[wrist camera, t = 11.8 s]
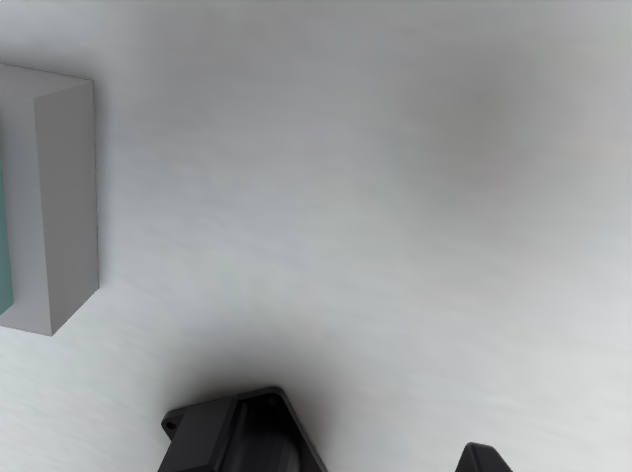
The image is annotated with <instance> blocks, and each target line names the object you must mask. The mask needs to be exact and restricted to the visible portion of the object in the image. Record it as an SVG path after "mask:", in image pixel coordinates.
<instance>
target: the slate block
mask: <svg viewBox="0 0 632 472" xmlns="http://www.w3.org/2000/svg"><path fill="white" fill-rule="evenodd" d="M0 156H1V167H2V178H3V189H4V200H5V211H6V223H7V234H8V245H9V256H10V267H11V279H12V290H13V301H14V304H13V305H12V306H11V307H10V308H8V309H7V310H6V311H5V312H4V313H3V314H1V315H0V326H4V327H8V328H13V329H18V330H23V331H28V332H33V333H37V334H42V335H47V336H53V335H54V334H55V333H56V331H57V330H58V329H59V328H60V327H61V326H62V325H63V324H64V323H65V322H66V321H67V320H68V319H69V318H70V317H71V316H72V315H73V314H74V313H75V312H76V311H77V310H78V309H79V308H80V307H81V306H82V305H83V304H84V303H85V302H86V300H87V299H88V298H89V297H90V296H91V295H92V294H93V293H94V292H95V291H96V290H97V289H98V288H99V272H98V234H97V197H96V160H95V122H94V85H93V81H92V80H86V79H81V78H76V77H71V76H65V75H60V74H55V73H50V72H44V71H39V70H34V69H29V68H23V67H18V66H13V65H8V64H2V63H0Z"/></svg>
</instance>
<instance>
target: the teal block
mask: <svg viewBox="0 0 632 472" xmlns="http://www.w3.org/2000/svg"><path fill="white" fill-rule="evenodd" d="M13 304H14V301H13V290H12V279H11V267H10V256H9V245H8V234H7V223H6V211H5V200H4V189H3V178H2V167H1V156H0V315H1V314H3V313H4V312H5V311H6V310H7V309H8V308H10V307H11V306H12V305H13Z"/></svg>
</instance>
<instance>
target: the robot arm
mask: <svg viewBox="0 0 632 472" xmlns="http://www.w3.org/2000/svg"><path fill="white" fill-rule="evenodd" d="M271 397H275V398H277V399H272V398H271ZM172 422H173V423H172ZM161 425H162V428H163V429H164V431H165V432H166V434H167V435H168V437H169V438H170V440H171V441H172V442H171V444H170V446H169V448H168V451H167V453H166V455H165V457H164V459H163V461H162V463H161V465H160V468H159V470H158V472H326V470H325V468H324V467H323V465H322V463H321V461H320V459H319V457H318V455H317V453H316V451H315V450H314V448H313V446H312V444H311V442H310V440H309V438H308V436H307V434H306V433H305V431H304V429H303V427H302V425H301V423H300V421H299V419H298V417H297V416H296V414H295V412H294V410H293V408H292V406H291V404H290V402H289V400H288V399H287V397H286V395H285V393H284V392H283V390H282V389H280V388H278V387H268V388H264V389H260V390H256V391H252V392H248V393H244V394H240V395H236V396H230V397H226V398H222V399H218V400H214V401H210V402H206V403H202V404H198V405H194V406H190V407H188V408H184V409H180V410H176V411H172V412H169V413H166V415H165V416H164V418H163V420H162V423H161ZM455 472H513V471H512V470H511V469H510V467H509V466H508V465H507V463H506V462H505V461H504V460H503V458H502V457H501V456H500V454H499V453H498V452H497V451H496V449H494V448H493V447H492V446H489V445H484V444H479V443H474V442H469V443H467V445H466V446H465V448H464V450H463V453H462V455H461V458H460V460H459V463H458V466H457V468H456V471H455Z"/></svg>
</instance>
